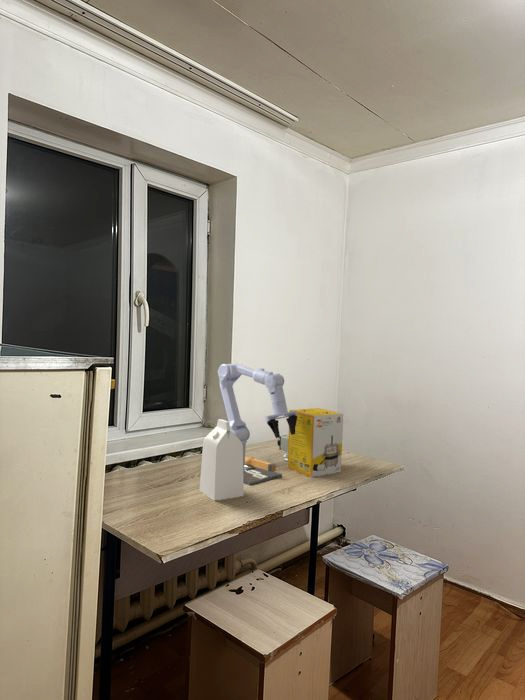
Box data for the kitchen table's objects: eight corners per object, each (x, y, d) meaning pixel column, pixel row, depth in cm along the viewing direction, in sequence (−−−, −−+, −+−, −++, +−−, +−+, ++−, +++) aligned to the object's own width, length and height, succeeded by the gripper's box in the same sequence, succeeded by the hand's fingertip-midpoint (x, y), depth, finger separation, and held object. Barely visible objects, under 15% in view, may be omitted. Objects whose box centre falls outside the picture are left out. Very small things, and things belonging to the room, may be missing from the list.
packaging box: (315, 462, 214) (317, 407, 213) (340, 472, 200) (343, 413, 199) (287, 467, 204) (289, 410, 204) (311, 477, 191) (313, 416, 190)
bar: (242, 463, 199) (242, 457, 198) (249, 462, 201) (249, 456, 201) (270, 472, 187) (270, 466, 187) (277, 470, 190) (277, 464, 190)
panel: (215, 473, 192) (215, 468, 192) (247, 465, 205) (248, 461, 205) (249, 485, 178) (249, 480, 178) (281, 476, 191) (282, 471, 191)
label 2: (252, 475, 187) (252, 475, 187) (258, 474, 189) (258, 473, 189) (261, 478, 183) (261, 478, 183) (267, 477, 186) (267, 476, 186)
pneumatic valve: (297, 464, 210) (298, 437, 210) (276, 459, 217) (277, 433, 217) (304, 462, 214) (305, 435, 214) (283, 457, 222) (284, 431, 221)
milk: (243, 495, 166) (246, 422, 165) (214, 501, 160) (216, 424, 159) (227, 486, 176) (229, 416, 176) (199, 490, 170) (201, 418, 169)
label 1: (246, 472, 192) (246, 471, 192) (252, 470, 194) (252, 469, 194) (254, 474, 188) (254, 473, 188) (261, 473, 191) (261, 472, 191)
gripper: (269, 404, 186) (276, 438, 184) (298, 399, 194) (305, 432, 192) (260, 406, 192) (266, 439, 190) (289, 401, 200) (295, 433, 198)
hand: (285, 436), depth 191 cm, fingers open, 7 cm apart
